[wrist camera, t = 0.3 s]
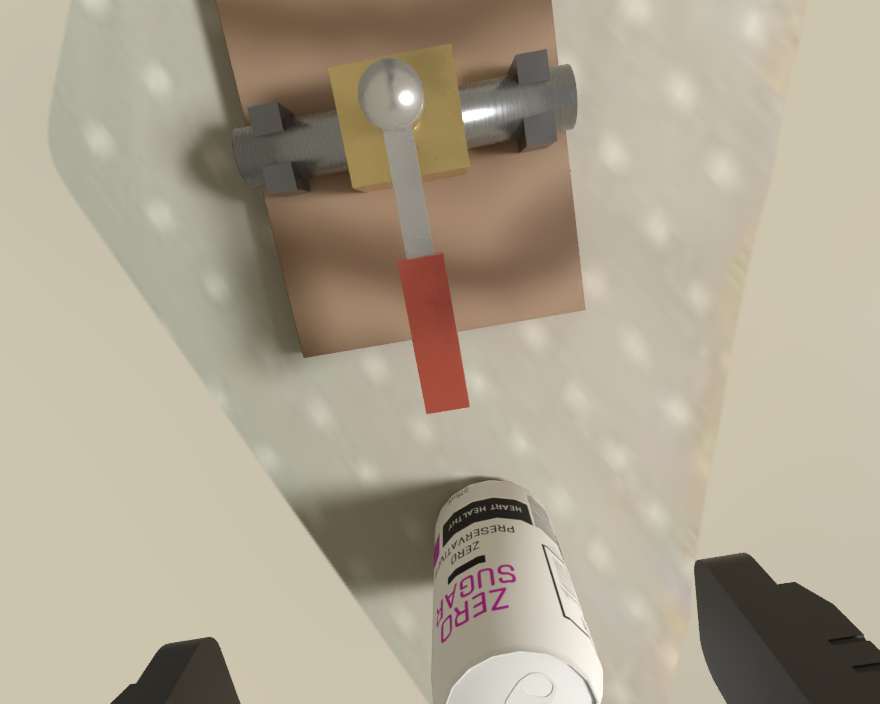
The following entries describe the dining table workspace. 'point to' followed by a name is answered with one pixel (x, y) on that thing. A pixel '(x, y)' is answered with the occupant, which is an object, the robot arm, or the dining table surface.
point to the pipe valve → (436, 135)
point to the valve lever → (416, 234)
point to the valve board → (447, 200)
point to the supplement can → (506, 606)
